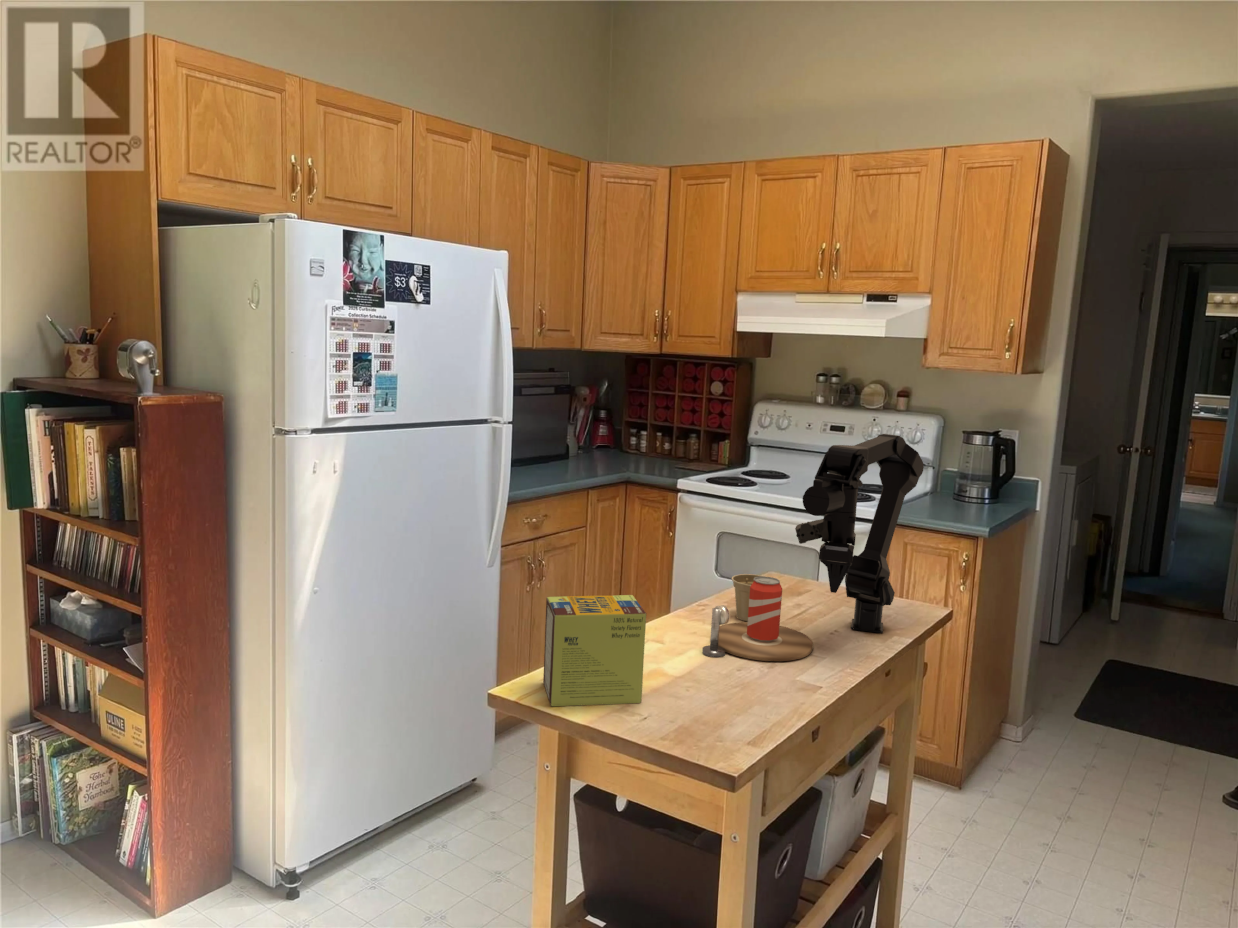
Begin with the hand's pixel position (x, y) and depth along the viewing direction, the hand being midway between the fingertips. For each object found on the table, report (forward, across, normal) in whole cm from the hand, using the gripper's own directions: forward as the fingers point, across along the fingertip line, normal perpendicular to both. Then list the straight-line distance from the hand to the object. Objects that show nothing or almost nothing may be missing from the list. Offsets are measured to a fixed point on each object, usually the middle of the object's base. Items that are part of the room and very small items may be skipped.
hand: (834, 586), depth 180 cm
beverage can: (+11, +6, -13) cm, 18 cm away
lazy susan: (+12, +6, -13) cm, 19 cm away
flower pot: (+12, -10, -17) cm, 23 cm away
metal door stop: (+12, +15, -21) cm, 28 cm away
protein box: (+12, +42, -37) cm, 57 cm away
